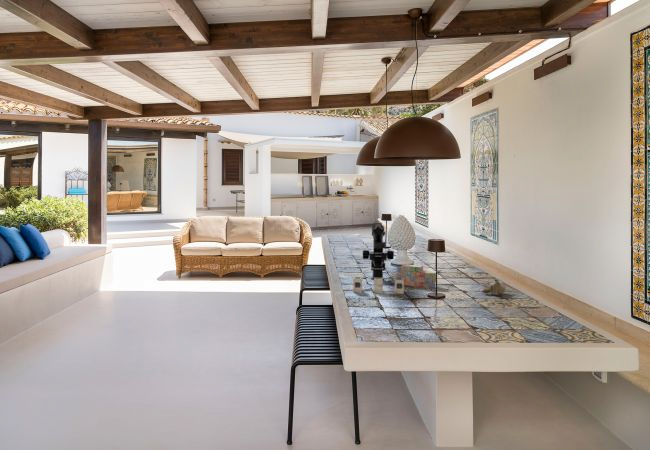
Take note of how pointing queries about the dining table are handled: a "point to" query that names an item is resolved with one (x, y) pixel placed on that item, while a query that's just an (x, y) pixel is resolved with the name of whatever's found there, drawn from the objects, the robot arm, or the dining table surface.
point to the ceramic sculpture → (495, 288)
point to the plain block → (378, 285)
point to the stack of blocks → (417, 276)
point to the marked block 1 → (357, 284)
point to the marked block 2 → (399, 286)
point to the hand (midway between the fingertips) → (378, 266)
